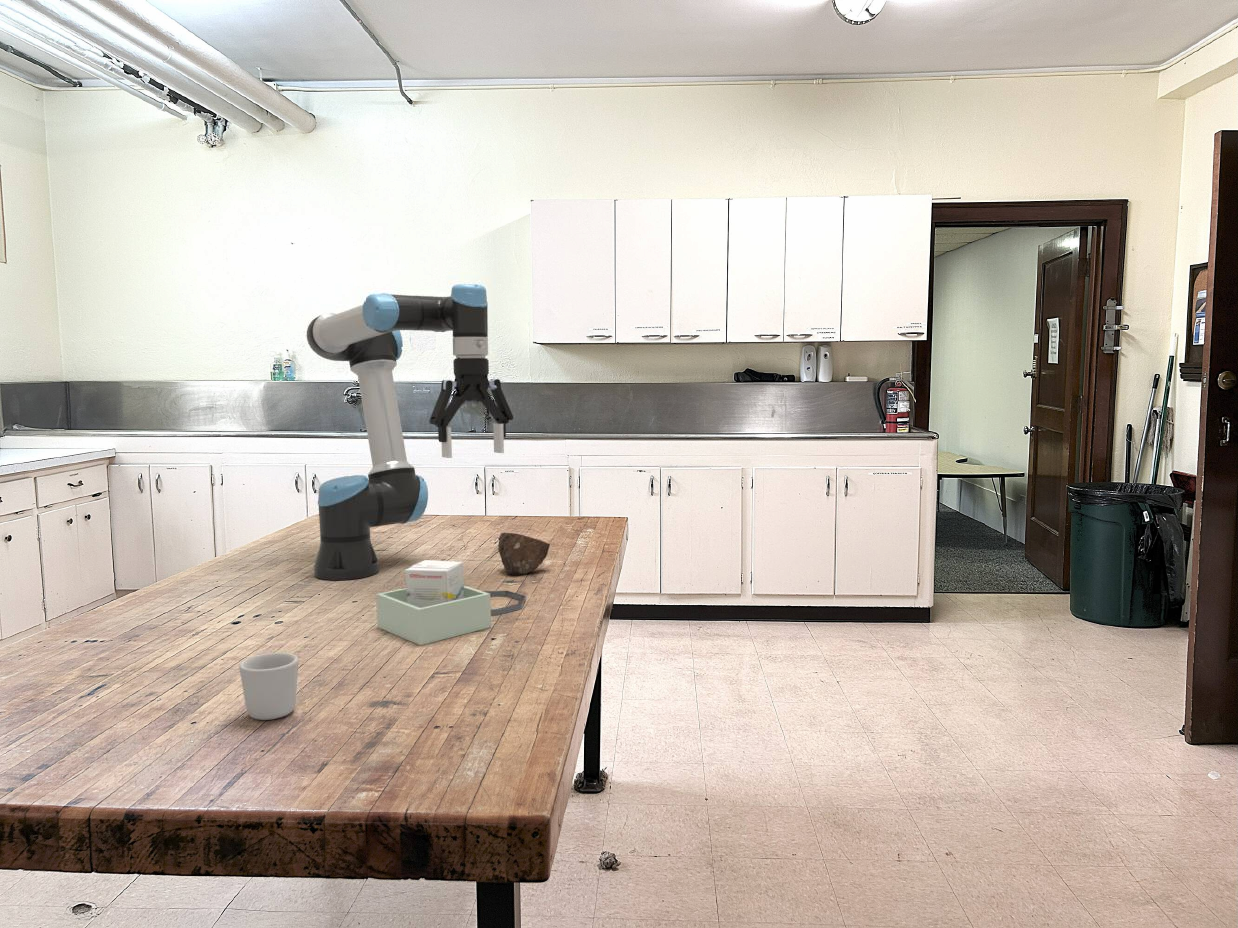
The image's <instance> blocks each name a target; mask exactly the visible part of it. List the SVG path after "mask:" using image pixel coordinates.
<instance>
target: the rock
mask: <svg viewBox="0 0 1238 928" xmlns="http://www.w3.org/2000/svg"><path fill="white" fill-rule="evenodd" d="M550 545H551V544H550V543H548V542H545V541H543V540H540V539H538V538H534V537H531V536H527V535H524V534H519V533H514V532H501V533H500V535H499V537H498V547H497V550H498V553H499V556H500V559H501V563H502V565H503V568H504V570H505V572H506V573H508V574H509V575H514V576H520V575H525V574H529V573H531V572H533V571H535V570H536V569H538V568H539V566H540V565H542V564H543V561H544V560H545V559H546V558H547V555H548V554H549V549H550Z"/></svg>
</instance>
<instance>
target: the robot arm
mask: <svg viewBox="0 0 1238 928" xmlns="http://www.w3.org/2000/svg"><path fill="white" fill-rule="evenodd" d="M450 291H451V293H450V296H434V295H432V296H431V295H407V294H392V293H390V294H389V293H386V292H385V293H383V292H382V293H372V294H369V295H367V296H366V299H365V300H364V301H363V304H361V305H358V306H355V307H353V308H349V309H347V310H344V311H342V312H339V313H335V312H334V313H333V312H327V313H324V314H320V315H318V316H317V317H315V318H314V319H312V320H311V321H310V323H309V324H308V326H307V329H306V340H307V341H306V342H307V343H308V345H309V347H310V349H311V350H312V351H313V352H314V353H315V354H316V355H317V356H319V357H321V358H323V359H326V360H328V361H332V362H333V361H335V362H348V363H349V368H350V369H349V370H350V371H351V372H352V373H353V374H355V375H356V376H357V379H358V385H359V391H360V397H361V405H362V409H363V410H362V411H363V415H364V421H365V428H366V433H367V440H368V445H369V452H370V459H371V464H372V468H371V469H370V471H369V472H368V474H367V475H363V474H362V475H360V474H356V475H355V474H354V475H350V476H349V475H346V476H341V477H335V478H332V479H329V480H326V481H324V482H323V483H322V484H320V486H319V487H318V495H317V496H318V499H317V505H318V519H319V520H318V521H319V536H320V539H319V540H320V542H319V543H320V545H319V548H318V552H317V556H316V558H315V562H314V566H313V572H314V573H313V575H314V577H315V578H318V579H320V580H329V581H340V580H341V581H342V580H343V581H345V580H356V579H362V578H363V579H364V578H365V577H370V576H373V575H375V574H377V573H379V572H380V566H379V565H380V563H379V559H378V557H377V554H376V551H375V549H374V547H373V544H372V541H371V528H374V527H376V528H377V527H382V526H390V525H391V526H392V525H399V524H400V525H401V524H402V525H404V524H406V523H411V522H414V521H415V522H416V521H418V520H419V519H421V518H422V516H423V515H424V514H425V511H426V509H427V507H428V501H429V490H428V484H427V482H426V481H425V478H424V477H423V476H422V475H418V474H416V470H415V466H413V465H412V464H410V463H409V462H408V458H407V453H406V452H407V451H406V447H405V446H406V445H405V440H404V435H403V429H402V424H401V416H400V410H399V406H398V400H397V393H396V388H395V381H394V376H393V370H394V369H396V366H397V365H398V363H397V361H398V360H399V359H400V358H401V356H402V353H403V349H402V348H403V345H404V344H403V337H402V334H401V331H418V332H419V331H423V332H424V331H427V332H436V333H446V332H449V331H450V332H451V331H452V355H453V356H454V357H455V358H453V360H452V361H453V374H454V381H452V379H451V380H449V379H443V380H442V381H441V385H440V386H441V387H440V392H439V395H438V398H437V400H436V403H435V405H434V407H433V411H432V412H431V415H430V418H429V420H428V421H429V424H430V425H434V426H435V427H436V428H437V434H438V437H437V438H438V439H437V440H438V442H439V443H441V458H446V459H452V458H453V453H452V451H453V449H452V427H451V426H449V424H450V423H451V421H452V419H454V417H455V416H456V414H457V412H458V411H459V409H460V408H461V406H462V405H463V404H464V403H465V402H467V401H468V402H469V401H472V402H473V401H479V402H481V403H482V404H483V406H484V407H485V409H486V410H487V411H488V412H489V414H490V415H491V416H492V418H493V419H494V421H495V423H493V425H492V426H493V427H492V428H493V453H494V454H495V453H496V454H504V453H505V443H504V442H505V440H504V438H506V437H507V433H506V432H507V429H506V428H507V425H508V424H509V422H510V421H512V420H514V415H513V413H512V412H513V411H512V410H511V408H510V406H509V403H508V401H507V399H506V396H505V395H504V392H503V390H502V384H501V380H500V379H498V378H497V379H496V378H494V379H493V378H492V379H490V380H489V378H488V377H489V373H490V369H489V367H490V364H489V361H490V360H489V359H488V358H486V356H489V336H488V333H489V332H488V331H489V329H488V327H489V325H488V323H489V322H488V320H489V319H488V313H489V312H488V309H489V308H488V305H489V302H488V296H487V288H486V287H485V286H483V284H473V283H472V284H471V283H464V284H463V283H462V284H460V283H459V284H454V285H452V287H451V290H450ZM488 389H489V390H490V391H491V394H492V396H491V394H490V392H488ZM454 390H455V393H454V395H453V396H452V392H453V391H454ZM451 396H452V397H451ZM492 397H493V399H494V400H493V399H492ZM450 398H452V400H451V401H450Z"/></svg>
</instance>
